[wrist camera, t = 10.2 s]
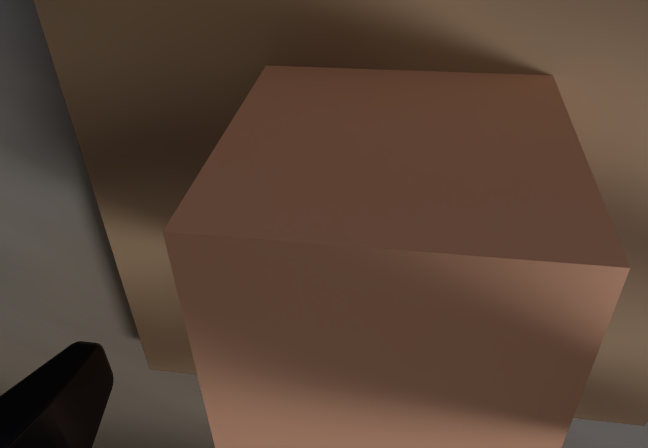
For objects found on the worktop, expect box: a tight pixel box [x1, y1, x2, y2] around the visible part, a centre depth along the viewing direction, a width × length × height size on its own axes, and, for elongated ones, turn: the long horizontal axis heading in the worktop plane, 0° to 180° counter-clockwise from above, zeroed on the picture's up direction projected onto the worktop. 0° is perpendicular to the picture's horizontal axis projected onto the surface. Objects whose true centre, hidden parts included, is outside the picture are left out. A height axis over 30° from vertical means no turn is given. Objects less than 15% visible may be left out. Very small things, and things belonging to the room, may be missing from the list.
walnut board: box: [33, 0, 648, 426], centre depth 14 cm, size 16×16×1 cm
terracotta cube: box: [163, 66, 630, 448], centre depth 12 cm, size 6×6×6 cm
